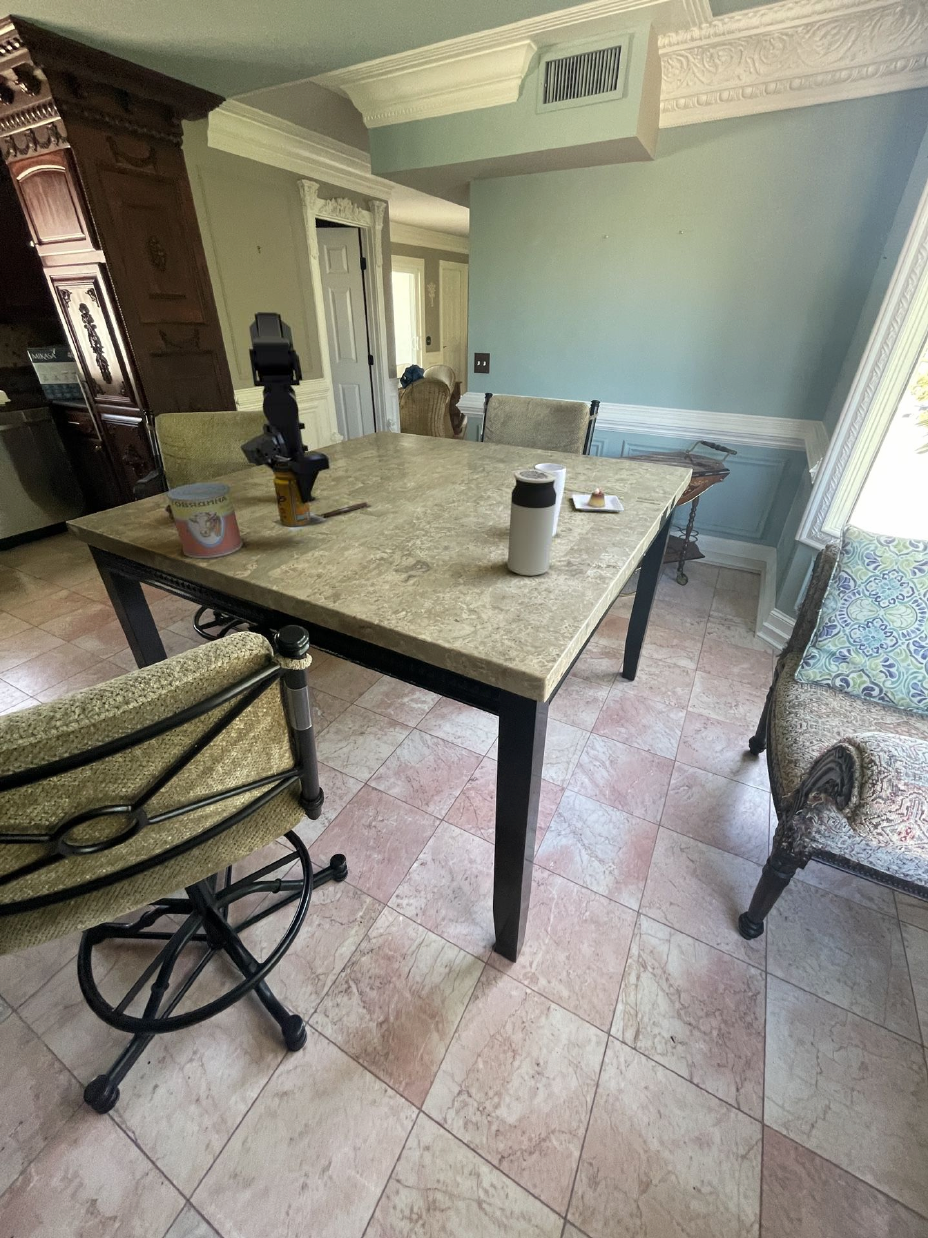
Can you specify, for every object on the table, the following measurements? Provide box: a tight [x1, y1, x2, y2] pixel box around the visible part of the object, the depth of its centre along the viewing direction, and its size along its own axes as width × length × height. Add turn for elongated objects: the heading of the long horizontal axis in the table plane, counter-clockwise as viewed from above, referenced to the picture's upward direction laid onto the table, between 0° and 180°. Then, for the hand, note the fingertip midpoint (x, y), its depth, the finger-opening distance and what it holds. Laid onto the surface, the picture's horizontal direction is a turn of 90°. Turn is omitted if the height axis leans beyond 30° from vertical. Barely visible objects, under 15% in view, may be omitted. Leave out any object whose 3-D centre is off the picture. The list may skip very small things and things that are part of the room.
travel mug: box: [507, 469, 557, 577], centre depth 93 cm, size 8×8×18 cm
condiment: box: [272, 461, 327, 532], centre depth 101 cm, size 7×8×12 cm
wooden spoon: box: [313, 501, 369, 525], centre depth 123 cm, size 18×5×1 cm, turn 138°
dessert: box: [571, 487, 625, 513], centre depth 130 cm, size 12×12×5 cm
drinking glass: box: [533, 462, 567, 538], centre depth 109 cm, size 7×7×15 cm
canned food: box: [166, 482, 243, 559], centre depth 101 cm, size 11×11×12 cm
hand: (296, 499), depth 102 cm, fingers closed on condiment, 6 cm apart
